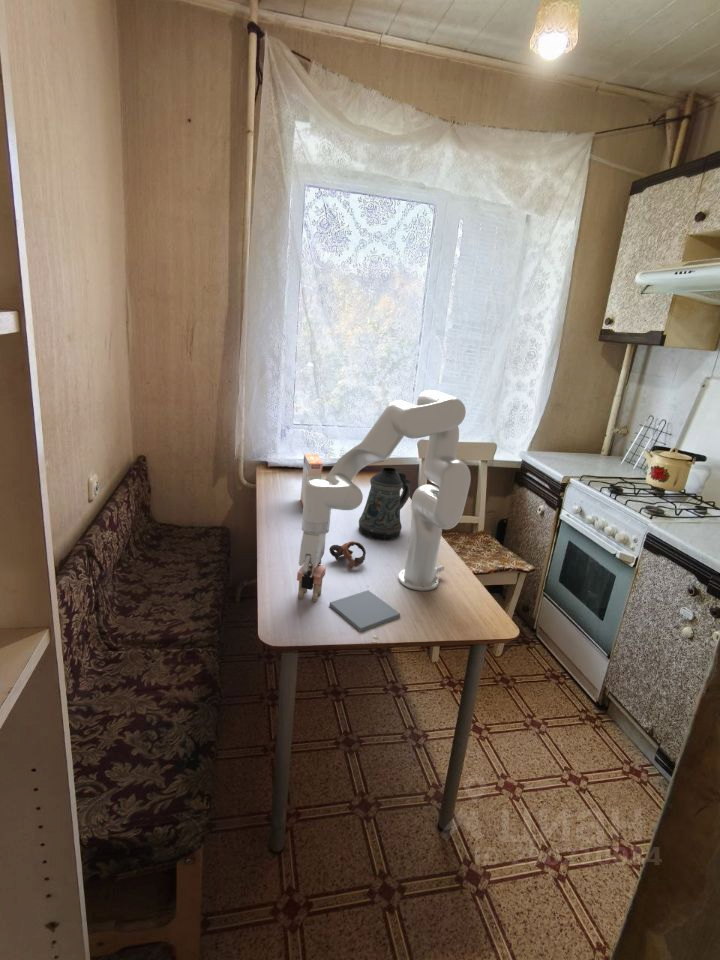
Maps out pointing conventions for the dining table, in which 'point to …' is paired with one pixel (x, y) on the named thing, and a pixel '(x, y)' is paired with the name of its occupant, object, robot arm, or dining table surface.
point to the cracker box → (310, 471)
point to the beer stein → (384, 505)
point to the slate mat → (364, 610)
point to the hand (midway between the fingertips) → (310, 581)
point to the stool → (318, 576)
